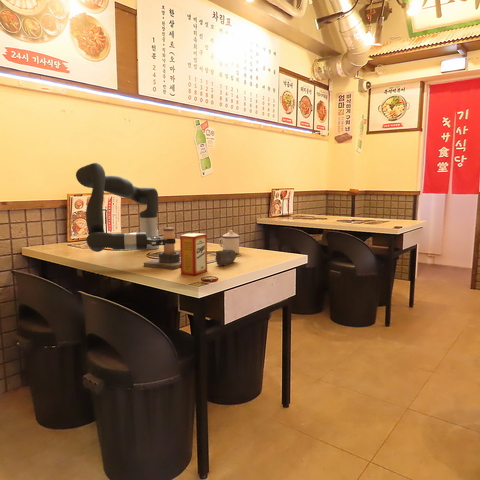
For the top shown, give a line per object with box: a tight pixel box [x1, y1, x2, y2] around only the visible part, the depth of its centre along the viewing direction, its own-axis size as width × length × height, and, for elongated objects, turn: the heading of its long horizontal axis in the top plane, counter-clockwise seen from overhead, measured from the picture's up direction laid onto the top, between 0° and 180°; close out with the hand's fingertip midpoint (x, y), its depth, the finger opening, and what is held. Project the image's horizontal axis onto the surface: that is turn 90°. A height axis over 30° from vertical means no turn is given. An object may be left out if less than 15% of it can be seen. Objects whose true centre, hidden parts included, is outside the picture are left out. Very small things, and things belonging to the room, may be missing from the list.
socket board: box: [143, 251, 181, 271], centre depth 178 cm, size 16×16×5 cm
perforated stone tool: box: [214, 249, 237, 267], centre depth 179 cm, size 15×5×7 cm, turn 148°
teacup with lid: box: [218, 229, 240, 254], centre depth 208 cm, size 12×9×12 cm
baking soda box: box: [179, 232, 208, 277], centre depth 161 cm, size 10×6×16 cm
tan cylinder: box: [162, 227, 176, 255], centre depth 177 cm, size 5×5×13 cm
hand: (175, 240), depth 177 cm, fingers closed on tan cylinder, 4 cm apart
